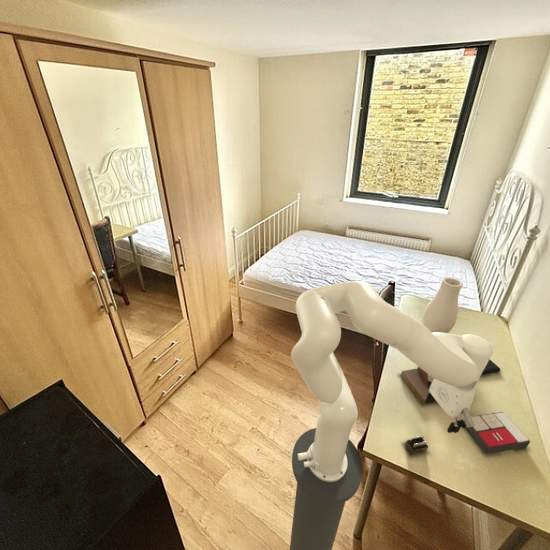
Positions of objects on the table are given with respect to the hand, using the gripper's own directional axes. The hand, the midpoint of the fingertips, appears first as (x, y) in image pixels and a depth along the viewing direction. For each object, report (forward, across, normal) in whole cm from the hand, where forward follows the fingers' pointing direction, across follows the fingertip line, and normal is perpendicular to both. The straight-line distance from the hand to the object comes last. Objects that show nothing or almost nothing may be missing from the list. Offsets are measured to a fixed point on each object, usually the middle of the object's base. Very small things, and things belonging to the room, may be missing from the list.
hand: (440, 415), depth 87 cm
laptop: (+16, -31, +46) cm, 57 cm away
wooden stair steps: (+16, -21, +20) cm, 33 cm away
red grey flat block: (+16, +1, +25) cm, 30 cm away
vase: (+16, -49, +40) cm, 65 cm away
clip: (+16, 0, -4) cm, 16 cm away
